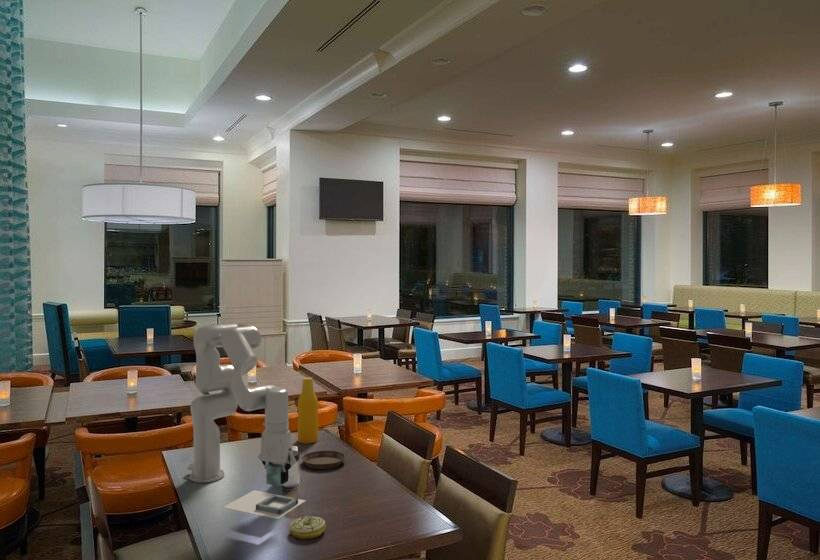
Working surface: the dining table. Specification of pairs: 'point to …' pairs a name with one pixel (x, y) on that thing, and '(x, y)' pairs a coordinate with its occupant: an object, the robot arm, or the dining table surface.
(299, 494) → the dining table surface
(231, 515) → the dining table surface
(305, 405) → the beer bottle
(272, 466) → the teal block
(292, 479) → the jar
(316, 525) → the decorated donut
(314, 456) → the plant saucer
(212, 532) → the dining table surface
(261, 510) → the board
